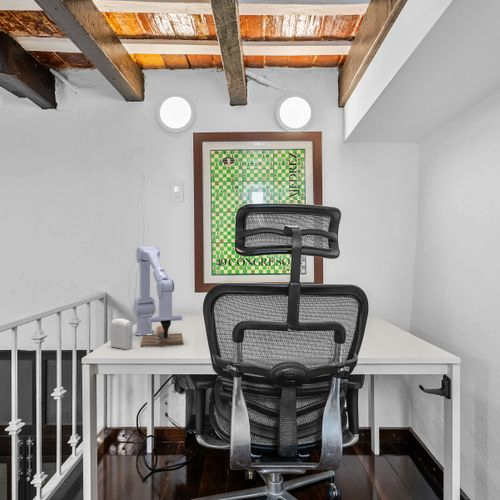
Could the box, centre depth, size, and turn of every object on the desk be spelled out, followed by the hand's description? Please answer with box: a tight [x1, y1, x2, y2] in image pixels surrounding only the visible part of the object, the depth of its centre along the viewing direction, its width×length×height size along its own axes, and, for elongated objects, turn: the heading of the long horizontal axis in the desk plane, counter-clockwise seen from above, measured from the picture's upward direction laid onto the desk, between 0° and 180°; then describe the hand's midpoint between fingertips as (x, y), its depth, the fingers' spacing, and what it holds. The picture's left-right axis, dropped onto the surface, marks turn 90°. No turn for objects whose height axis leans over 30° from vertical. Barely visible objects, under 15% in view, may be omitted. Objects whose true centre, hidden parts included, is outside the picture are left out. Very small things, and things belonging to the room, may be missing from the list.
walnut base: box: [140, 332, 184, 348], centre depth 176 cm, size 18×18×2 cm
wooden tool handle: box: [156, 325, 169, 339], centre depth 172 cm, size 14×5×4 cm, turn 10°
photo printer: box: [110, 318, 133, 350], centre depth 165 cm, size 10×4×12 cm, turn 60°
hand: (165, 337), depth 170 cm, fingers closed
